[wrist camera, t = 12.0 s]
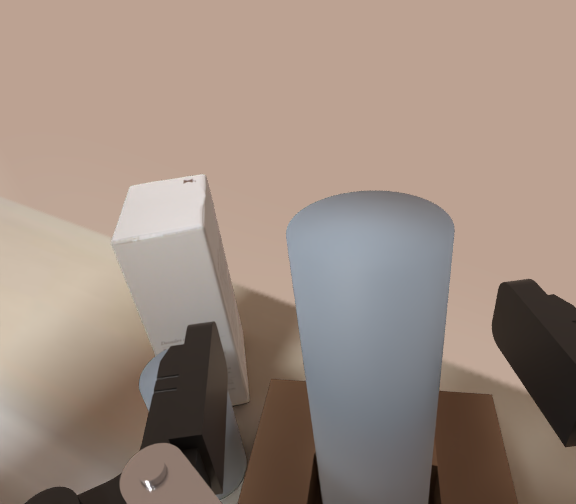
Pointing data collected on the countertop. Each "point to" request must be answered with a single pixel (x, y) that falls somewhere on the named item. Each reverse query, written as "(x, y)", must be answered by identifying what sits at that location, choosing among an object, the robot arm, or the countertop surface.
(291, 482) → the socket block
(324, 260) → the long pin
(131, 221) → the skincare box
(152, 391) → the short pin
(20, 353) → the countertop surface
